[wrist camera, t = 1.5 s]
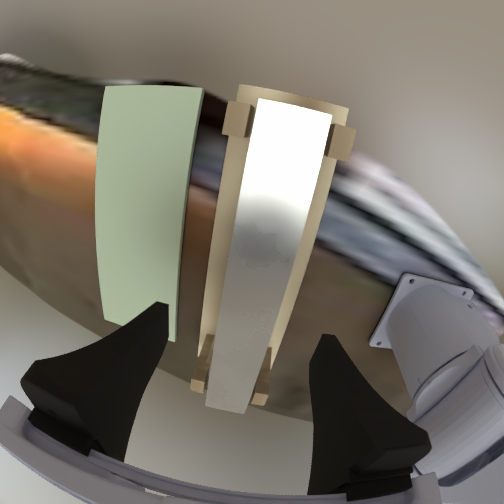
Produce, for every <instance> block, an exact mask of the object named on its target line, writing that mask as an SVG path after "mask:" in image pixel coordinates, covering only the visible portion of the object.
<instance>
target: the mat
mask: <svg viewBox="0 0 504 504" xmlns="http://www.w3.org/2000/svg"><path fill="white" fill-rule="evenodd" d="M204 92H205V89H203V88H196V87H182V86H159V85H127V86H106V87H105V93H104V99H103V105H102V112H101V119H100V127H99V137H98V147H97V161H96V182H95V226H96V247H97V261H98V272H99V282H100V290H101V298H102V305H103V312H104V318H105V320H108V321H111V322H114V323H116V324H119V325H122V326H124V325H125V324H127V323H128V322H129V321H131V320H132V319H134V318H135V317H136V316H138V315H139V314H140V313H142V312H143V311H144V310H146V309H147V308H148V307H149V306H151V305H152V304H153V303H155V302H156V301H158V302H162V303H166V304H169V338H168V340H170V341H173V342H175V341H176V338H177V315H178V295H179V279H180V265H181V253H182V242H183V231H184V222H185V213H186V204H187V196H188V188H189V180H190V173H191V166H192V159H193V153H194V147H195V140H196V135H197V129H198V123H199V118H200V112H201V107H202V102H203V97H204Z"/></svg>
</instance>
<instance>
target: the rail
mask: <svg viewBox="0 0 504 504" xmlns="http://www.w3.org/2000/svg"><path fill="white" fill-rule="evenodd" d="M331 117H332V115H329V114H325V113H322V112H318V111H314V110H310V109H306V108H302V107H298V106H294V105H289V104H285V103H280V102H275V101H270V100H265V99H259V100H258V105H257V110H256V115H255V120H254V124H253V129H252V134H251V139H250V144H249V149H248V154H247V159H246V164H245V170H244V175H243V180H242V185H241V191H240V196H239V201H238V207H237V212H236V217H235V223H234V229H233V234H232V240H231V245H230V251H229V257H228V263H227V268H226V274H225V280H224V286H223V292H222V298H221V304H220V311H219V317H218V323H217V329H216V336H215V342H214V349H213V355H212V362H211V369H210V376H209V383H208V390H207V397H206V404H205V406H209V407H213V408H217V409H221V410H226V411H231V412H236V413H241V414H244V413H245V410H246V408H247V405H248V402H249V399H250V397H251V394H252V391H253V388H254V386H255V383H256V380H257V377H258V374H259V371H260V368H261V365H262V363H263V360H264V357H265V354H266V351H267V348H268V345H269V342H270V339H271V336H272V333H273V330H274V326H275V323H276V320H277V317H278V314H279V311H280V308H281V304H282V301H283V298H284V295H285V291H286V288H287V285H288V282H289V278H290V275H291V272H292V268H293V265H294V261H295V258H296V254H297V251H298V247H299V244H300V240H301V237H302V233H303V230H304V226H305V222H306V219H307V215H308V211H309V208H310V204H311V200H312V196H313V192H314V188H315V185H316V181H317V177H318V173H319V169H320V165H321V160H322V156H323V152H324V148H325V144H326V139H327V135H328V131H329V126H330V122H331Z"/></svg>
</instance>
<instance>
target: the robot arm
mask: <svg viewBox="0 0 504 504" xmlns="http://www.w3.org/2000/svg"><path fill="white" fill-rule="evenodd" d="M411 279H413V280H412V281H411V282H409V281H410V280H411ZM473 293H474V292H473V290H472V289H469V288H465V287H462V286H458V285H454V284H450V283H446V282H442V281H438V280H434V279H430V278H425V277H421V276H417V275H413V274H409V273H406V274H404V275H403V276H402V277H401V279H400V281H399V284H398V286H397V288H396V290H395V292H394V294H393V296H392V298H391V300H390V302H389V304H388V306H387V308H386V310H385V312H384V314H383V316H382V318H381V320H380V322H379V324H378V326H377V327H376V329H375V331H374V333H373V335H372V336H371V338H370V340H369V344H370V346H372V347H381V348H390V349H392V350H393V352H394V355H395V358H396V360H397V363H398V365H399V368H400V371H401V373H402V376H403V379H404V382H405V385H406V387H407V390H408V393H409V396H410V399H411V402H412V407H411V408H410V409H409V410H408V411H407V412H406V413H407V417H408V419H407V418H405V417H404V416H403V415H401V414H400V413H399V412H397V411H396V410H395V409H394V408H393V407H391V406H390V405H389V404H388V403H387V402H386V401H385V400H384V399H383V398H382V397H381V396H380V395H379V394H378V393H377V392H376V391H375V390H374V389H373V388H372V387H371V385H370V384H369V383H368V382H367V381H366V379H365V378H364V377H363V376H362V374H361V373H360V372H359V370H358V369H357V367H356V366H355V365H354V363H353V362H352V360H351V359H350V357H349V356H348V354H347V353H346V351H345V350H344V348H343V347H342V345H341V344H340V342H339V341H338V339H337V338H336V336H335V335H330V334H322V336H321V339H320V341H319V343H318V345H317V348H316V350H315V352H314V354H313V356H312V358H311V360H310V363H309V385H310V394H311V403H312V412H313V424H314V433H313V454H312V465H311V473H310V480H309V487H308V492H307V495H302V496H301V495H298V496H297V495H295V496H294V495H270V494H257V493H247V492H238V491H231V490H224V489H217V488H212V487H206V486H202V485H197V484H192V483H188V482H184V481H180V480H176V479H172V478H168V477H165V476H162V475H158V474H155V473H152V472H149V471H145V470H143V469H140V468H137V467H134V466H131V465H129V464H126V463H124V458H125V454H126V449H127V445H128V441H129V437H130V433H131V429H132V426H133V423H134V420H135V416H136V413H137V410H138V407H139V404H140V401H141V398H142V395H143V393H144V391H145V389H146V386H147V384H148V382H149V380H150V378H151V376H152V374H153V372H154V370H155V368H156V366H157V364H158V362H159V360H160V358H161V356H162V354H163V352H164V349H165V346H166V344H167V341H168V338H169V304H166V303H162V302H158V301H156V302H155V303H153V304H152V305H151V306H149V307H148V308H147V309H146V310H144V311H143V312H142V313H140V314H139V315H138V316H136V317H135V318H134V319H132V320H131V321H129V322H128V323H127V324H125V325H124V326H122V327H121V328H119V329H118V330H116V331H114V332H113V333H111V334H110V335H108V336H106V337H104V338H103V339H101V340H99V341H97V342H95V343H93V344H90V345H88V346H86V347H83V348H81V349H78V350H76V351H73V352H70V353H67V354H64V355H60V356H56V357H52V358H47V359H42V360H36V361H35V362H34V363H33V364H32V365H31V367H30V368H29V369H28V371H27V372H26V373H25V375H24V376H23V377H22V379H21V381H20V383H21V386H22V389H23V390H24V392H25V394H26V395H27V396H28V398H29V399H30V401H31V402H32V404H33V405H34V409H33V410H32V411H31V410H30V409H29V408H28V407H26V406H25V405H24V404H22V403H21V402H20V401H18V400H17V399H15V398H14V397H12V396H9V397H8V399H7V400H6V402H5V403H4V405H3V406H2V408H1V409H0V445H1V446H2V447H3V448H4V449H5V450H6V451H8V452H9V453H10V454H11V455H12V456H13V457H15V458H16V459H17V460H19V461H20V462H21V463H23V464H24V465H25V466H27V467H28V468H30V469H31V470H32V471H34V472H35V473H37V474H38V475H39V476H41V477H42V478H44V479H45V480H47V481H49V482H50V483H52V484H53V485H55V486H57V487H58V488H60V489H62V490H63V491H65V492H67V493H69V494H70V495H72V496H74V497H76V498H78V499H80V500H81V501H83V502H85V503H87V504H442V503H454V504H504V344H500V342H499V338H498V336H497V334H496V333H495V331H494V330H493V329H492V327H491V326H490V325H489V323H488V322H487V321H486V320H485V318H484V317H483V316H482V314H481V313H480V312H479V311H478V310H477V308H476V307H475V306H474V305H473V303H472V302H471V301H470V300H471V298H472V296H473ZM377 342H379V343H377ZM411 477H412V479H411ZM140 486H141V487H140ZM143 487H144V488H147V489H150V490H153V491H157V492H160V493H163V494H167V495H171V496H166V497H164V496H160V495H156V494H152V493H148V492H145V489H144V488H143ZM172 496H174V497H172Z"/></svg>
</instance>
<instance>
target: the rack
mask: <svg viewBox="0 0 504 504" xmlns="http://www.w3.org/2000/svg"><path fill="white" fill-rule="evenodd" d="M259 99H265V100H270V101H275V102H280V103H285V104H289V105H294V106H298V107H302V108H306V109H310V110H314V111H318V112H322V113H325V114H329V115H332V117H331V122H330V126H329V131H328V135H327V139H326V144H325V148H324V152H323V156H322V160H321V165H320V169H319V173H318V177H317V181H316V185H315V188H314V192H313V196H312V200H311V204H310V208H309V211H308V215H307V219H306V222H305V226H304V230H303V233H302V237H301V240H300V244H299V247H298V251H297V254H296V258H295V261H294V265H293V268H292V272H291V275H290V278H289V282H288V285H287V288H286V291H285V295H284V298H283V301H282V304H281V308H280V311H279V314H278V317H277V320H276V323H275V326H274V330H273V333H272V336H271V339H270V342H269V345H268V348H267V351H266V354H265V357H264V360H263V363H262V365H261V368H260V371H259V374H258V377H257V380H256V383H255V386H254V388H253V393H252V401H251V404H256V405H262V406H264V404H265V402H266V400H267V397H268V395H269V382H270V370H271V367H272V365H273V362H274V359H275V357H276V354H277V351H278V349H279V346H280V343H281V341H282V338H283V335H284V332H285V330H286V327H287V324H288V321H289V318H290V315H291V312H292V310H293V307H294V304H295V301H296V298H297V295H298V292H299V289H300V286H301V283H302V280H303V277H304V273H305V270H306V267H307V264H308V261H309V258H310V254H311V251H312V248H313V245H314V241H315V238H316V235H317V231H318V228H319V224H320V221H321V217H322V214H323V210H324V207H325V203H326V199H327V196H328V192H329V188H330V185H331V181H332V177H333V173H334V169H335V165H336V161H337V160H341V161H344V162H347V163H349V159H350V155H351V151H352V147H353V142H354V139H355V134H356V130H355V129H353V128H349V127H346V126H345V123H346V119H347V114H348V110H349V109H348V108H345V107H342V106H338V105H335V104H332V103H328V102H324V101H321V100H317V99H313V98H309V97H305V96H301V95H297V94H292V93H287V92H283V91H278V90H273V89H267V88H262V87H256V86H250V85H243V84H239V89H238V94H237V99H236V101H228V105H227V110H226V115H225V121H224V126H223V131H222V134H224V135H229V139H228V144H227V150H226V155H225V161H224V166H223V172H222V178H221V184H220V190H219V196H218V202H217V208H216V215H215V221H214V228H213V235H212V242H211V249H210V256H209V263H208V271H207V278H206V286H205V294H204V303H203V311H202V320H201V329H200V339H199V349H198V356H199V358H198V360H197V363H196V366H195V369H194V372H193V375H192V378H191V391H195V392H199V393H203V392H204V388H205V385H206V381H207V378H208V375H210V369H211V362H212V355H213V349H214V342H215V336H216V329H217V323H218V317H219V311H220V304H221V298H222V292H223V286H224V280H225V274H226V268H227V263H228V257H229V251H230V245H231V240H232V234H233V229H234V223H235V217H236V212H237V207H238V201H239V196H240V191H241V185H242V180H243V175H244V170H245V164H246V159H247V154H248V149H249V144H250V139H251V134H252V129H253V124H254V120H255V115H256V110H257V105H258V100H259Z"/></svg>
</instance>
